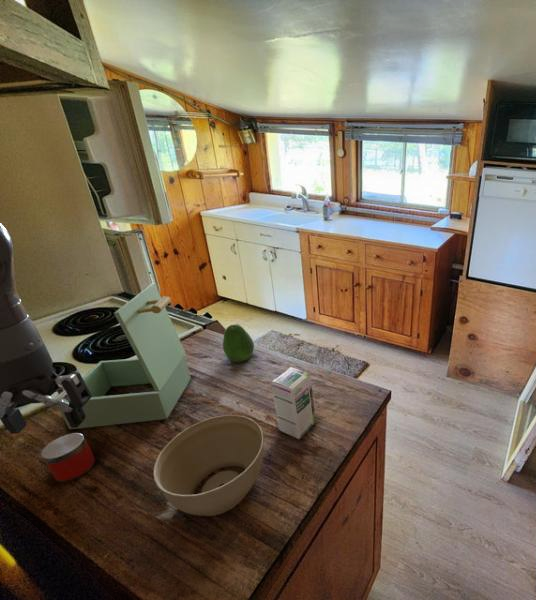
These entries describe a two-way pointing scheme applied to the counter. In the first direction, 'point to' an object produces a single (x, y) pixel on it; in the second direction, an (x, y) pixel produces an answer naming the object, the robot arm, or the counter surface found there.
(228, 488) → the planter bowl
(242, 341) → the avocado
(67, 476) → the can
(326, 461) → the counter surface
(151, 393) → the chest
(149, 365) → the lid
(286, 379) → the syrup box
